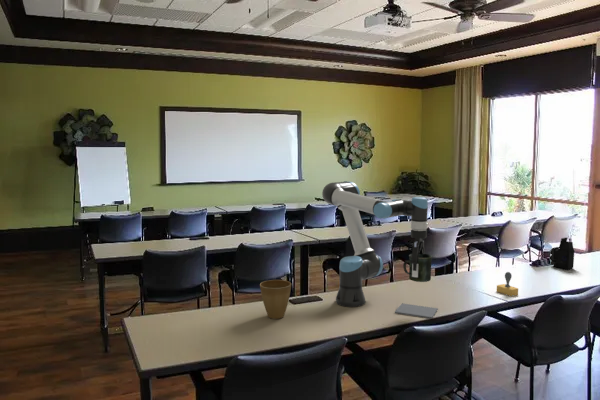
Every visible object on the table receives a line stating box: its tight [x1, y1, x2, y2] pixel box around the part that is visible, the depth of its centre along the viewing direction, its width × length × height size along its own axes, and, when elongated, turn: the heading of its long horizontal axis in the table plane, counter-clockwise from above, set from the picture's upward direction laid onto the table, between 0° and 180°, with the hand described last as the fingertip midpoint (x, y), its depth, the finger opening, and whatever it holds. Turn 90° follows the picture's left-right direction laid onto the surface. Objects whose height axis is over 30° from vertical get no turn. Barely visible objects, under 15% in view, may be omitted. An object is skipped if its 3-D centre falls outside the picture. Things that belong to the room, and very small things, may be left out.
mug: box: [402, 252, 433, 283], centre depth 244 cm, size 11×15×12 cm
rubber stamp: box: [496, 271, 519, 297], centre depth 276 cm, size 10×6×12 cm, turn 28°
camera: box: [549, 237, 575, 271], centre depth 332 cm, size 10×14×20 cm
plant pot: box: [259, 279, 292, 320], centre depth 239 cm, size 15×15×16 cm
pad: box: [394, 302, 439, 320], centre depth 247 cm, size 18×14×1 cm
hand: (417, 274), depth 245 cm, fingers closed on mug, 11 cm apart
